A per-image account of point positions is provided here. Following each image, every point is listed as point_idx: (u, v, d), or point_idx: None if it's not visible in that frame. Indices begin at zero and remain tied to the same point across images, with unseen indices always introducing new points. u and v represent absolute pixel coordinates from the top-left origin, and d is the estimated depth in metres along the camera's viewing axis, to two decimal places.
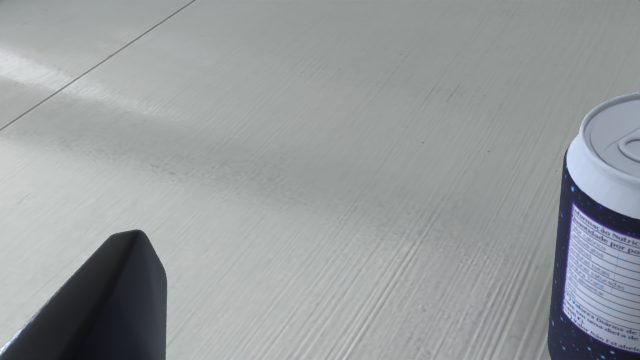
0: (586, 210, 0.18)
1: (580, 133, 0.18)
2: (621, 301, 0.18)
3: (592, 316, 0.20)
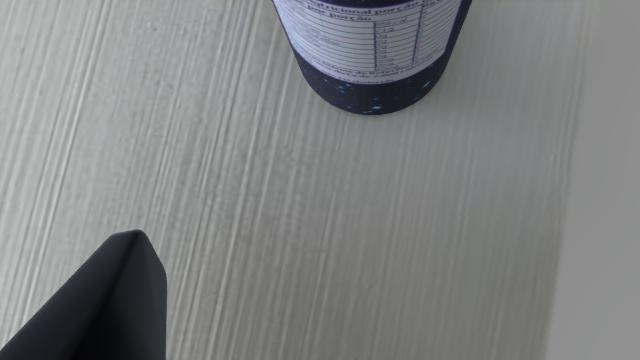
0: None
1: None
2: (341, 53, 0.14)
3: (317, 59, 0.16)
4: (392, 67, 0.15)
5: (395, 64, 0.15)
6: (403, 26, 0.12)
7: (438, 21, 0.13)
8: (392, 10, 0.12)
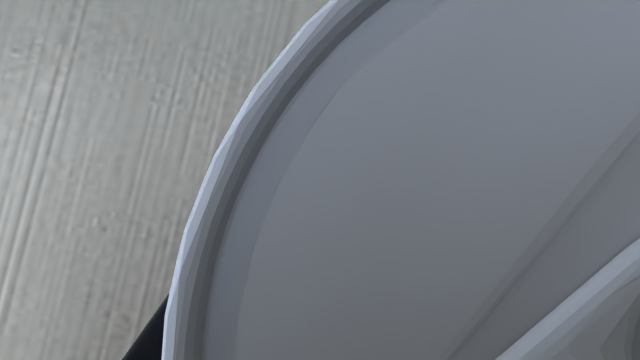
0: None
1: None
2: None
3: None
4: None
5: None
6: None
7: None
8: None
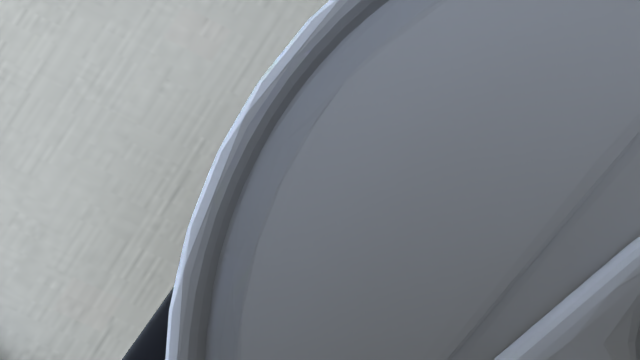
0: None
1: None
2: None
3: None
4: None
5: None
6: None
7: None
8: None
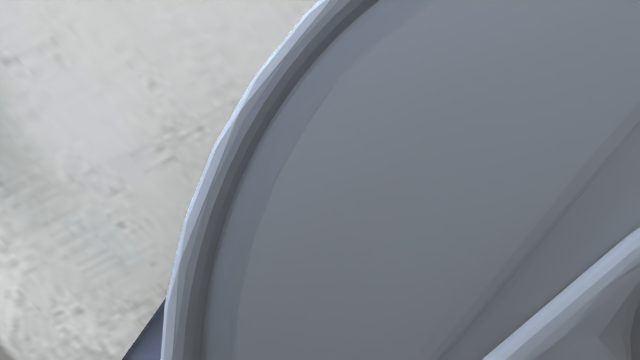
0: None
1: None
2: None
3: None
4: None
5: None
6: None
7: None
8: None
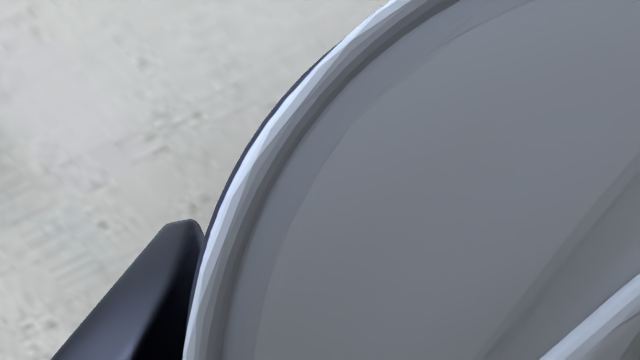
0: None
1: None
2: None
3: None
4: None
5: None
6: None
7: None
8: None
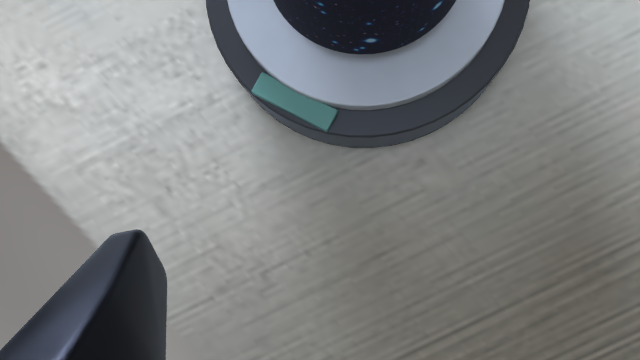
0: None
1: None
2: None
3: None
4: None
5: None
6: None
7: None
8: None
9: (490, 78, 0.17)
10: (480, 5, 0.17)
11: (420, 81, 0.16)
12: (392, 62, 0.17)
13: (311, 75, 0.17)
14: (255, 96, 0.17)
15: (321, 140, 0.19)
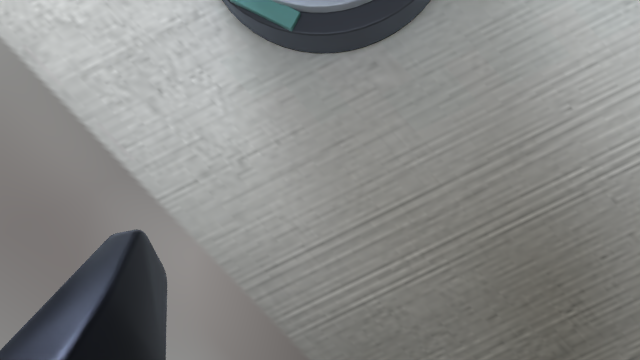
0: None
1: None
2: None
3: None
4: None
5: None
6: None
7: None
8: None
9: None
10: None
11: None
12: None
13: None
14: (232, 3, 0.21)
15: (289, 46, 0.22)
